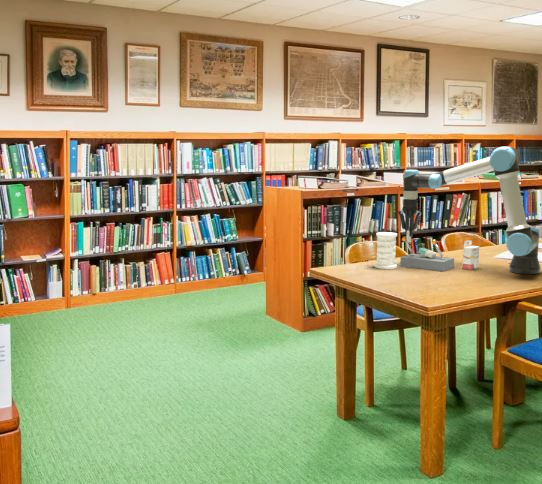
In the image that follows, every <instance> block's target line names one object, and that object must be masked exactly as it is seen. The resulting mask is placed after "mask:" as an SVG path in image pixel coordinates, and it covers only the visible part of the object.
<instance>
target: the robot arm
mask: <svg viewBox="0 0 542 484" xmlns="http://www.w3.org/2000/svg"><path fill="white" fill-rule="evenodd" d="M520 162H521V154H520V152H519V150H518V149H517V148H515V147H512V146H500V147H497V148H495V149H494V150H492V152H491V154H490V155H489V156H488V157H484V158H481V159H478V160H475V161H471V162H468V163H464V164H461V165H459V166H455V167H452V168H448V169H445V170H442V171H439V172H435V173H420V171H419V170H418V169H406V170H404V173H403V194H402V195H403V196H402V197H403V200H402V207H401V208H402V209H401V210H399V211H398V212H397V213H398V215H399V219H400V224H401V228H402V230H404V231H405V233H404V234H405V235H404V237H407V242H406V243H408V244H409V243H412V237H413V236H414V235H413V234H414V231H415V230H417V227H418V224H419V221H420V217H421V215H422V212H421V211H419V210H418V192H419V189H431V190H433V189H435V190H436V189H441V187H443V186H446V185H449V184H452V183H455V182H459V181H463V180H467V179H471V178H473V177H478V176H480V175H483V174H487V173H490V172H493V173H494V177H495V178H496V179H498V181H499V185H500V186H499V187H500V192H501V198H502V201H503V202H502V203H503V206H504V211H505V218H506V222H507V228H506V230H505V233H506V244H505V245H506V248H507V251H508V252H509V253H510V254H511V255H513V256H512V258H511V261H510V263H509V266H508V271H509V272H511V273H514V274H522V275H538V274H541V269H542V268H541V265H540V261H539V240H540V229H539V228H538V227H531V225H529V224H528V223H527V218H526V214H525V209H524V203H523V199H522V193H521V187H520V184H519V178H518V175H519V173H520V172H521V171H520V167H519V164H520ZM415 215H416V216H415ZM406 243H405V244H406Z"/></svg>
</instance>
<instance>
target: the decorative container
mask: <svg viewBox="0 0 542 484" xmlns="http://www.w3.org/2000/svg"><path fill="white" fill-rule="evenodd" d="M375 236H376V237H377V238H376V239H377V240H376V243H377V245H376V263H374V268H375V269H380V270H394V269H397V268H398V265H397V264H396V260H397V259H396V254H397V252H396V249H397V246H396V245H397V239H396V238H397V237H398V233H397V232H387V231H382V232H376V234H375Z"/></svg>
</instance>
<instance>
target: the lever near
mask: <svg viewBox="0 0 542 484" xmlns="http://www.w3.org/2000/svg"><path fill="white" fill-rule="evenodd" d="M431 244H432V245H434V246H435V248H436V250H437V253H438V254H439V257H444V255H443V252H442V251H441V249H440V248H439V246H438V244H437V239H432V240H431Z"/></svg>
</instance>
